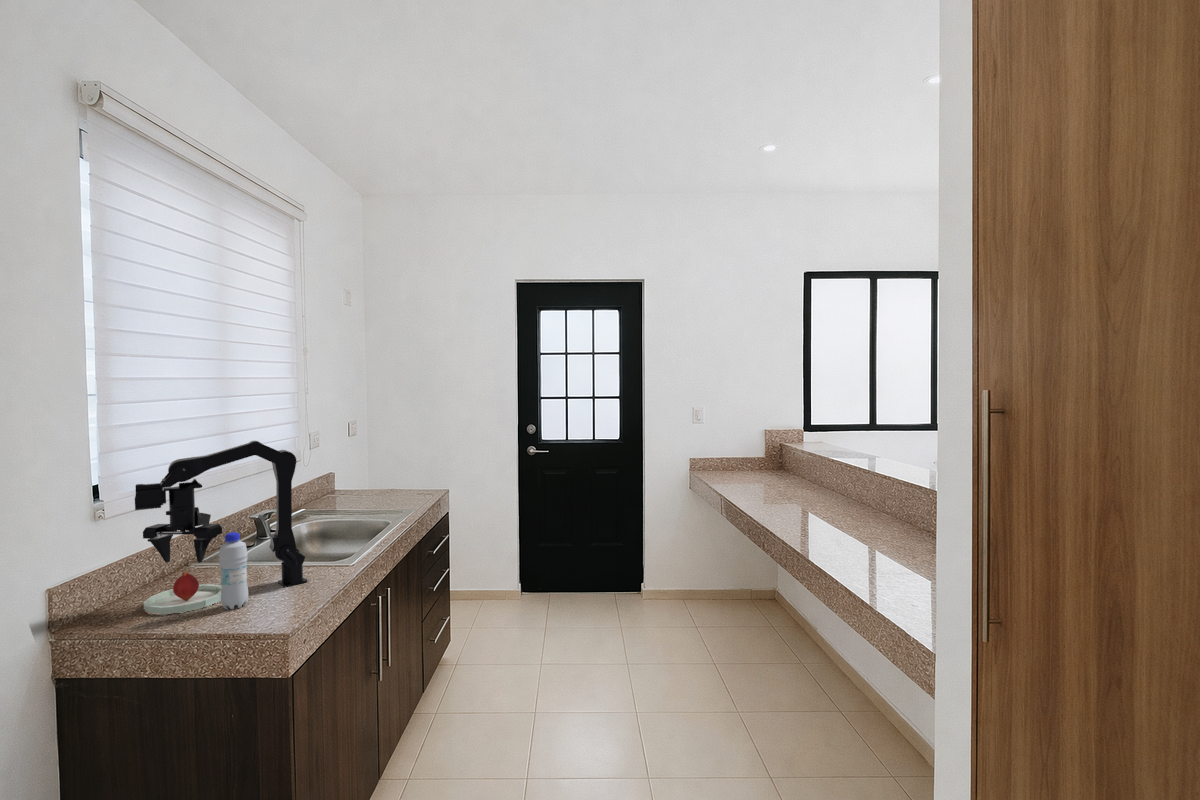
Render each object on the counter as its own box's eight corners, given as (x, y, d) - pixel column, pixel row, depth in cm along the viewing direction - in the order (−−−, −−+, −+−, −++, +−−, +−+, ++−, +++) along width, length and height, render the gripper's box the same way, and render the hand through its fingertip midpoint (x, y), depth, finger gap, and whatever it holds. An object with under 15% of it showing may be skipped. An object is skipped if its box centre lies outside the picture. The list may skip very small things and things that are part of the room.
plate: (233, 601, 168) (233, 593, 168) (153, 620, 155) (153, 612, 155) (214, 586, 180) (213, 580, 180) (138, 603, 167) (138, 596, 167)
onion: (181, 597, 170) (180, 568, 170) (203, 596, 171) (202, 567, 170) (168, 604, 164) (167, 575, 164) (191, 603, 165) (190, 574, 165)
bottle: (228, 612, 159) (225, 536, 159) (215, 608, 163) (212, 533, 162) (254, 604, 165) (252, 531, 164) (241, 600, 168) (238, 528, 168)
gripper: (234, 499, 174) (235, 554, 175) (171, 500, 175) (173, 554, 176) (207, 507, 163) (209, 565, 163) (140, 508, 164) (142, 565, 164)
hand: (183, 562), depth 167 cm, fingers open, 9 cm apart
